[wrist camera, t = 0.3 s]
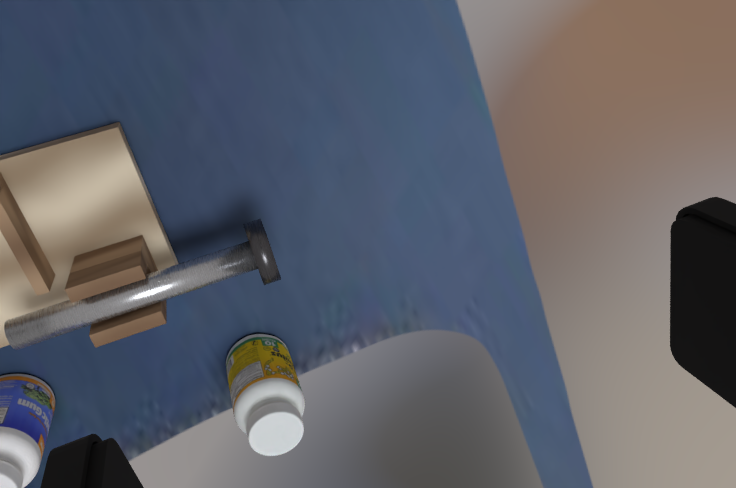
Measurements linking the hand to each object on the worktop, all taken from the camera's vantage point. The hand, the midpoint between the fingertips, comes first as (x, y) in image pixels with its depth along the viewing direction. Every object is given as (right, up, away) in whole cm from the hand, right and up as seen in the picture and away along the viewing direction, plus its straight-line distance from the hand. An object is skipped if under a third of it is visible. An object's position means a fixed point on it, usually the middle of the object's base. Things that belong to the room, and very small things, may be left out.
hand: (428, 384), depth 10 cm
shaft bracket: (-26, +2, +32) cm, 41 cm away
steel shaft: (-16, 0, +32) cm, 36 cm away
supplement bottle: (-10, -7, +42) cm, 44 cm away
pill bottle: (-28, -10, +37) cm, 47 cm away
